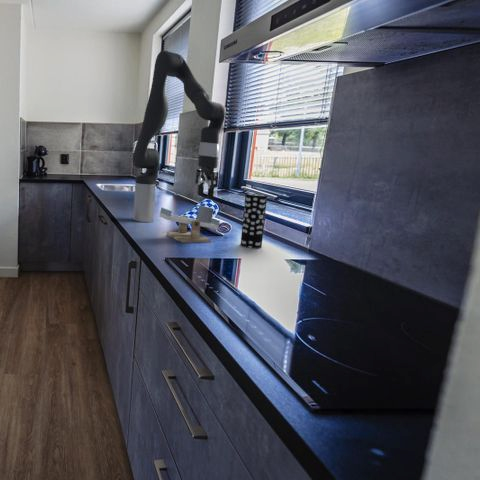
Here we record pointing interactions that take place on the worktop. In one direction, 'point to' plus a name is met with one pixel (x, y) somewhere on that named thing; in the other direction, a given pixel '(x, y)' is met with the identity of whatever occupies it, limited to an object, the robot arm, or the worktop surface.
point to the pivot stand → (188, 233)
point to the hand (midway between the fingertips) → (205, 196)
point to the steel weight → (204, 214)
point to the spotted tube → (253, 220)
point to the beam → (187, 219)
